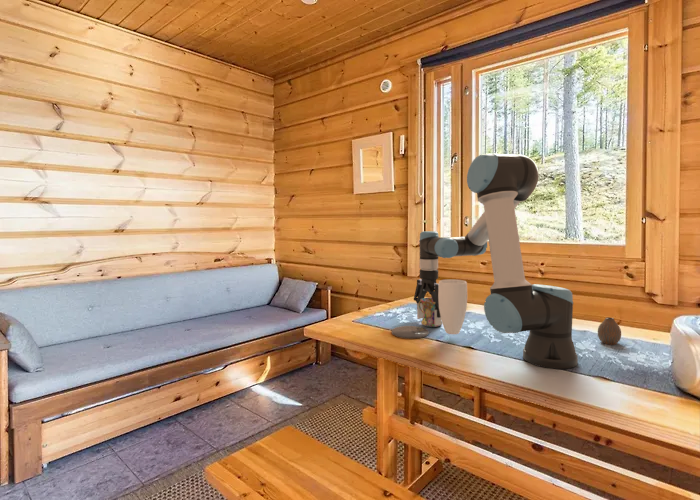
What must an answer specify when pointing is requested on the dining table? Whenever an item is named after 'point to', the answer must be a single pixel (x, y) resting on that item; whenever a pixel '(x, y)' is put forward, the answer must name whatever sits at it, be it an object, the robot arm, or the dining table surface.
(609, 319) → the vase
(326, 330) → the dining table surface
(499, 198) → the robot arm
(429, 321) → the mug
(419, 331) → the disc
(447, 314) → the cup
